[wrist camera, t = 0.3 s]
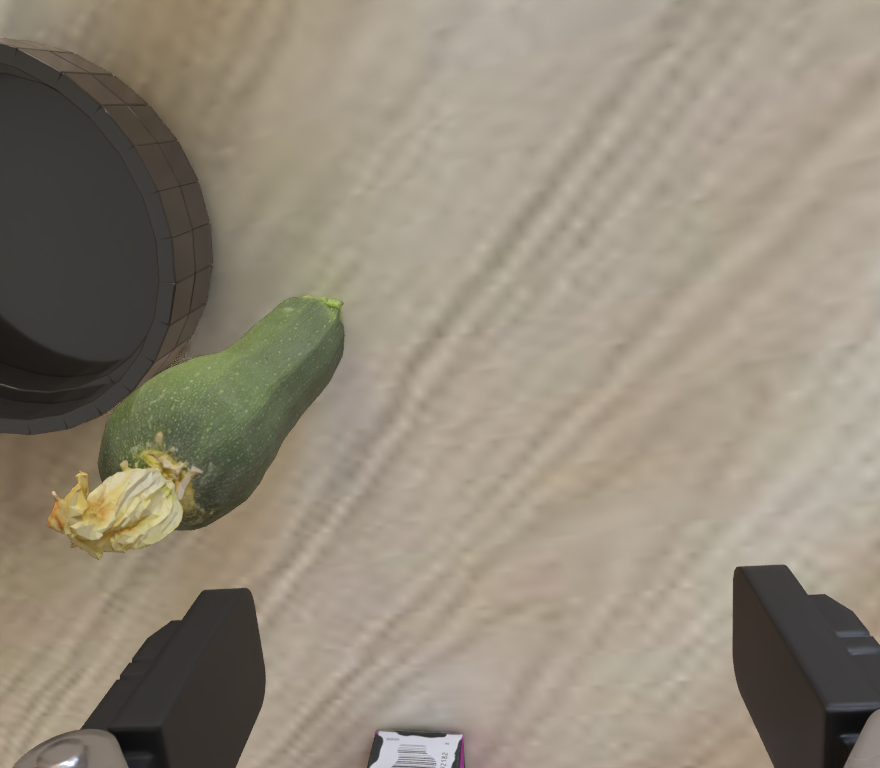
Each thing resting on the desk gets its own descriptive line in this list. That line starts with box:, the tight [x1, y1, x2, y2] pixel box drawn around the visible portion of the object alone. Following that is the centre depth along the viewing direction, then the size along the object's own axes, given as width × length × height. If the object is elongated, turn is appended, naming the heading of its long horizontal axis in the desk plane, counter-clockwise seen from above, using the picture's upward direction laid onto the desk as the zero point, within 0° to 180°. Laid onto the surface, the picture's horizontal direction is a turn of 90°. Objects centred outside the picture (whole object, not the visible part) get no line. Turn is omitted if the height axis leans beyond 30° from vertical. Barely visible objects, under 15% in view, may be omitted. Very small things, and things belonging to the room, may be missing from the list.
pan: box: [0, 38, 213, 435], centre depth 33 cm, size 15×15×4 cm
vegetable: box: [47, 295, 345, 560], centre depth 26 cm, size 4×4×20 cm
